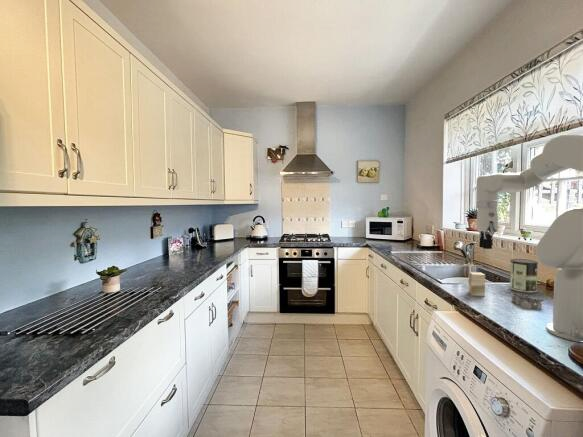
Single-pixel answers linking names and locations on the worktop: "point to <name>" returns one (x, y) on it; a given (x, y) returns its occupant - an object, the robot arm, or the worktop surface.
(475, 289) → the maple block
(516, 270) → the coffee can
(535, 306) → the egg carton
